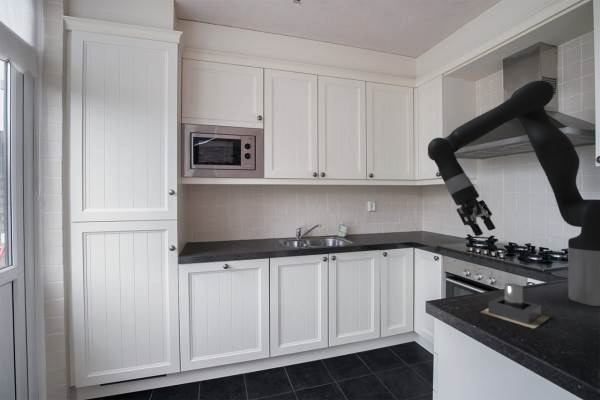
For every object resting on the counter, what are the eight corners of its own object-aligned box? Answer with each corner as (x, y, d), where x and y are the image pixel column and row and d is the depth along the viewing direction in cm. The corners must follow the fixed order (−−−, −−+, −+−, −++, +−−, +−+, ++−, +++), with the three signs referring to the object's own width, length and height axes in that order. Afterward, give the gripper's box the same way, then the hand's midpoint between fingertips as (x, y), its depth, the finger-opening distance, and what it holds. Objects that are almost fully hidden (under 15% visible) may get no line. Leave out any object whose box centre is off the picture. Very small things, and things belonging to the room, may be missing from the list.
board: (498, 306, 83) (498, 303, 83) (550, 321, 73) (550, 317, 73) (480, 315, 77) (480, 312, 77) (534, 332, 67) (534, 328, 67)
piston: (508, 310, 78) (508, 282, 78) (525, 315, 74) (525, 286, 74) (502, 313, 76) (501, 284, 76) (519, 318, 72) (519, 288, 72)
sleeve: (502, 305, 81) (502, 295, 81) (540, 316, 74) (540, 305, 74) (488, 312, 76) (488, 301, 76) (528, 324, 69) (528, 312, 69)
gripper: (459, 187, 88) (486, 233, 83) (481, 181, 95) (507, 224, 91) (440, 197, 94) (464, 240, 89) (462, 191, 101) (485, 231, 97)
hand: (486, 232), depth 90 cm, fingers open, 8 cm apart
